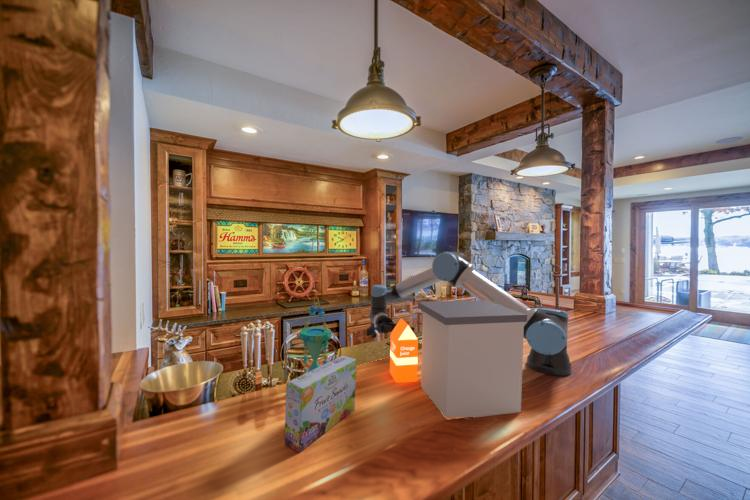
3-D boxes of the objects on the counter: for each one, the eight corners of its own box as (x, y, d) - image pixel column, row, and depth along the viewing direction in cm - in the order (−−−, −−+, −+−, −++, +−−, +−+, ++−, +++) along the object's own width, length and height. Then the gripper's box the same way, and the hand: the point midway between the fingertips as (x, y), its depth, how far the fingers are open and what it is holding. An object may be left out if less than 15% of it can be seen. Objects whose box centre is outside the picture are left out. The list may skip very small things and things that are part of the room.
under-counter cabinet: (482, 378, 106) (485, 300, 105) (523, 411, 85) (527, 314, 85) (415, 384, 101) (417, 301, 100) (442, 421, 80) (445, 317, 79)
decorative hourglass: (338, 385, 99) (339, 295, 98) (318, 401, 89) (320, 301, 88) (311, 378, 103) (312, 292, 102) (289, 392, 93) (291, 297, 93)
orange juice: (395, 383, 101) (397, 324, 101) (389, 371, 110) (390, 318, 109) (417, 381, 103) (419, 323, 102) (409, 370, 112) (410, 317, 111)
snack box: (300, 455, 66) (301, 388, 66) (283, 445, 69) (284, 381, 69) (356, 410, 84) (357, 357, 84) (340, 404, 87) (341, 353, 87)
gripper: (409, 329, 139) (426, 345, 118) (356, 332, 134) (364, 348, 113) (409, 313, 139) (426, 326, 118) (356, 315, 133) (364, 329, 113)
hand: (396, 337), depth 115 cm, fingers open, 13 cm apart
